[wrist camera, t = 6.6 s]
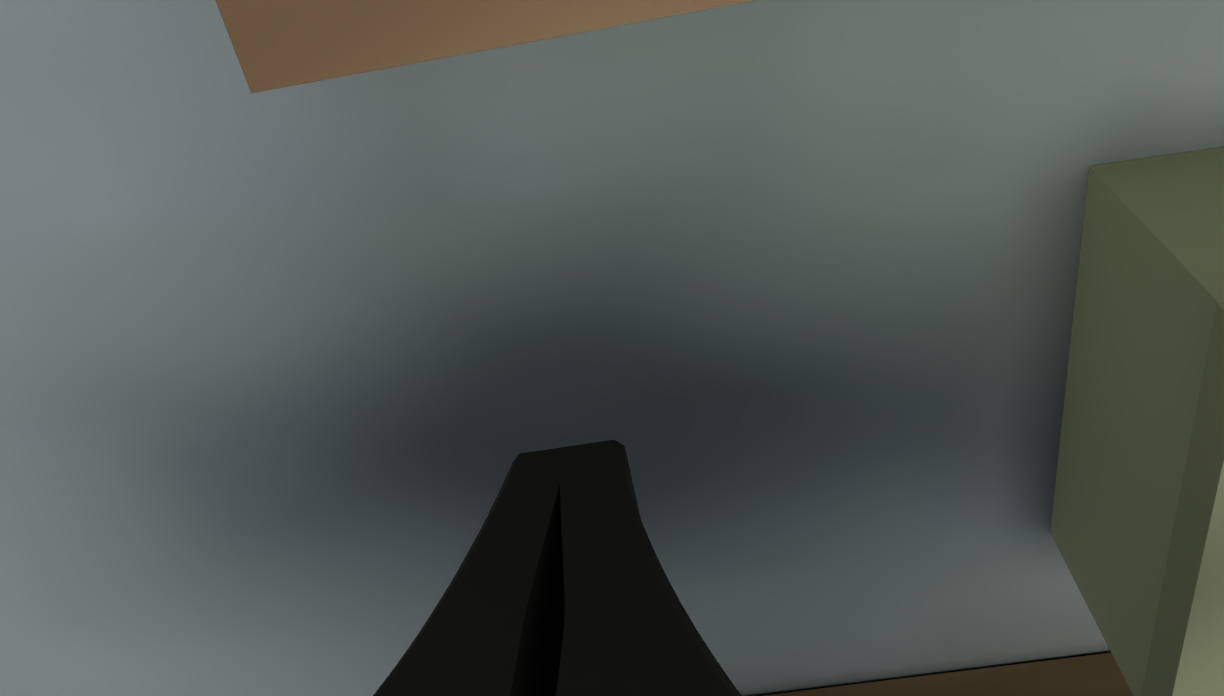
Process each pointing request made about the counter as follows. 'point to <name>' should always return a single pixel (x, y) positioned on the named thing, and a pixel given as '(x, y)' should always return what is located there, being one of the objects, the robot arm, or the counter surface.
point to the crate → (1149, 421)
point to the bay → (519, 13)
